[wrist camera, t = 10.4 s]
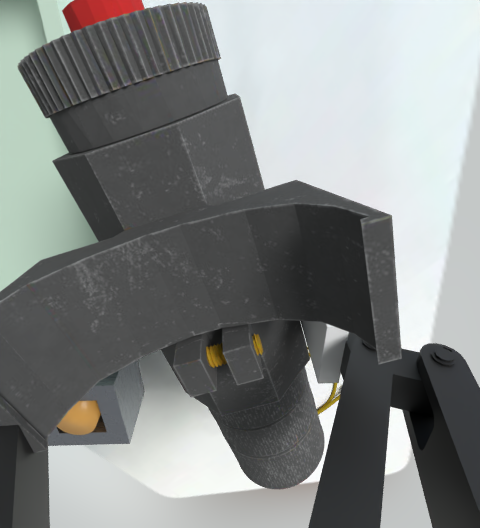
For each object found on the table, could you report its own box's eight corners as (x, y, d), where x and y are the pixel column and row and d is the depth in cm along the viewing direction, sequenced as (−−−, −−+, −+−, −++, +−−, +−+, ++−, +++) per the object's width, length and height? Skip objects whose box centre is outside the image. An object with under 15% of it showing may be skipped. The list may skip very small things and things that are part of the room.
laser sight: (205, 414, 24) (200, 610, 15) (8, 63, 13) (-446, 28, 4) (339, 380, 23) (416, 566, 14) (251, -28, 12) (354, -328, 3)
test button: (73, 365, 32) (48, 409, 28) (109, 364, 33) (90, 408, 28) (82, 390, 34) (60, 435, 30) (116, 389, 34) (100, 434, 30)
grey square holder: (51, 338, 33) (17, 387, 27) (132, 336, 33) (113, 385, 28) (72, 393, 37) (45, 445, 31) (144, 391, 37) (129, 443, 31)
